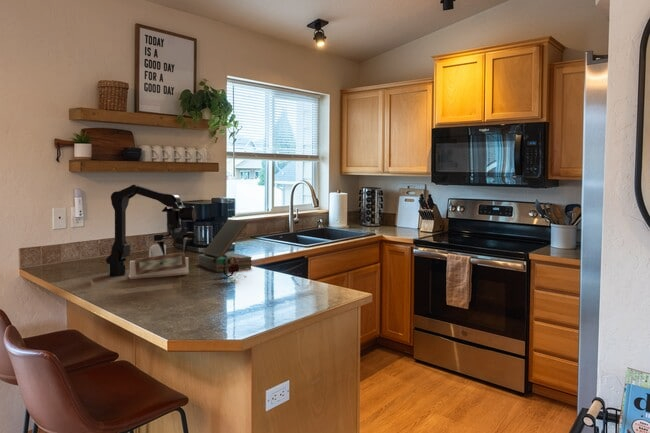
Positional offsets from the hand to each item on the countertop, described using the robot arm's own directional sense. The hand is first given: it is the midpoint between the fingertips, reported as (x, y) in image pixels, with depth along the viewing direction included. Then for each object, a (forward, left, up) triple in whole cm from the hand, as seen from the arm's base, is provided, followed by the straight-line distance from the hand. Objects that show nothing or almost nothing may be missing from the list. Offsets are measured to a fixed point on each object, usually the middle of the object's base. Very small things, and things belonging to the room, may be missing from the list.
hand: (174, 254), depth 223 cm
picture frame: (-6, 0, -4) cm, 7 cm away
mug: (-2, +29, -10) cm, 31 cm away
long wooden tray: (-6, +3, -10) cm, 12 cm away
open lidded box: (+30, +15, -11) cm, 35 cm away
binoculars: (+21, -12, -10) cm, 26 cm away
